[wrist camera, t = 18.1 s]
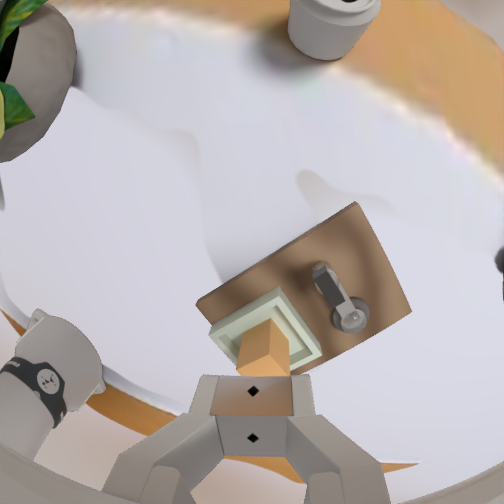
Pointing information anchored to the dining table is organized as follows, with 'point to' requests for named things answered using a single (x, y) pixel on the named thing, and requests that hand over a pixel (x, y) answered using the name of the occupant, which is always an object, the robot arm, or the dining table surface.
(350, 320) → the crank
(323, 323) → the mechanism board
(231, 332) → the tray
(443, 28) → the dining table surface
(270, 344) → the block
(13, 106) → the flower arrangement
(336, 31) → the can
